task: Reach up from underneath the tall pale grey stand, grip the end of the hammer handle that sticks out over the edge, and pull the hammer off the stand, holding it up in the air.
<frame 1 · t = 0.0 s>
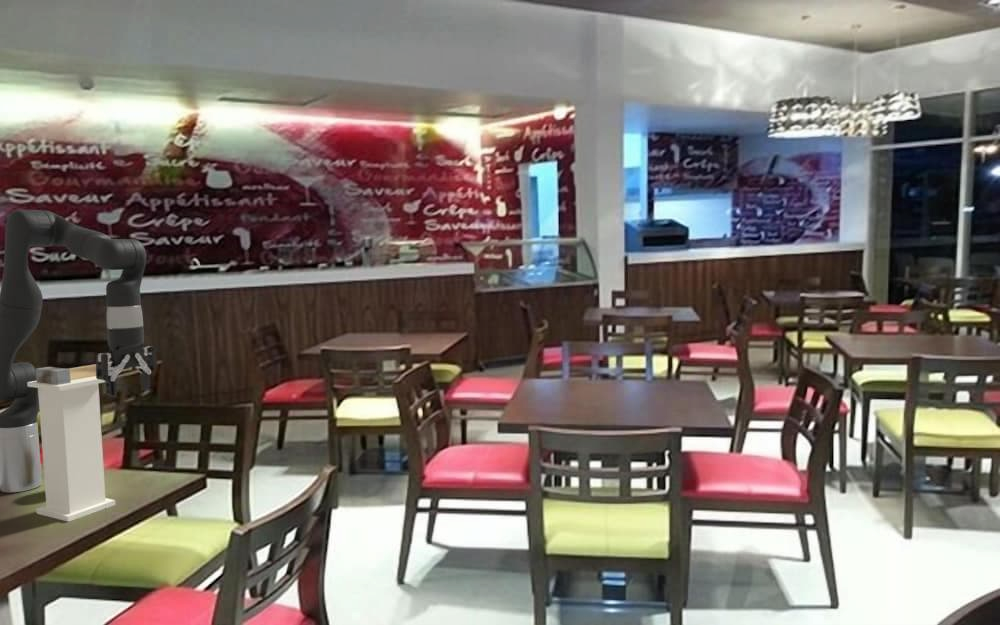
hand: (129, 393, 171), 29 cm above the table, fingers open, 8 cm apart
stand: (76, 509, 177), on the table
hammer: (89, 375, 179), point 32 cm above the table, touching stand
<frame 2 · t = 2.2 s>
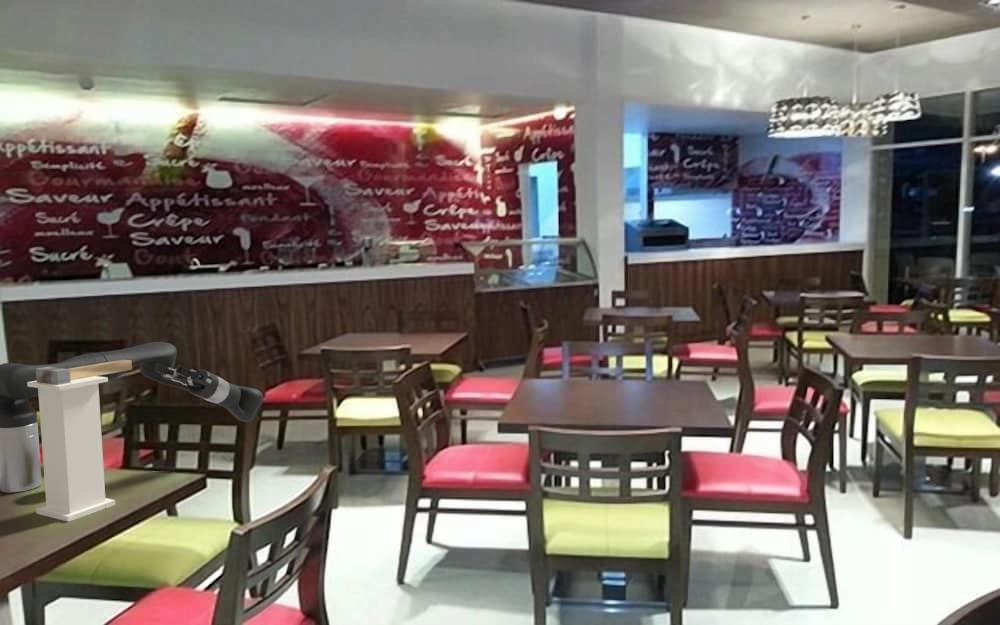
hand: (166, 367, 199), 31 cm above the table, fingers open, 8 cm apart
nothing on the table moved.
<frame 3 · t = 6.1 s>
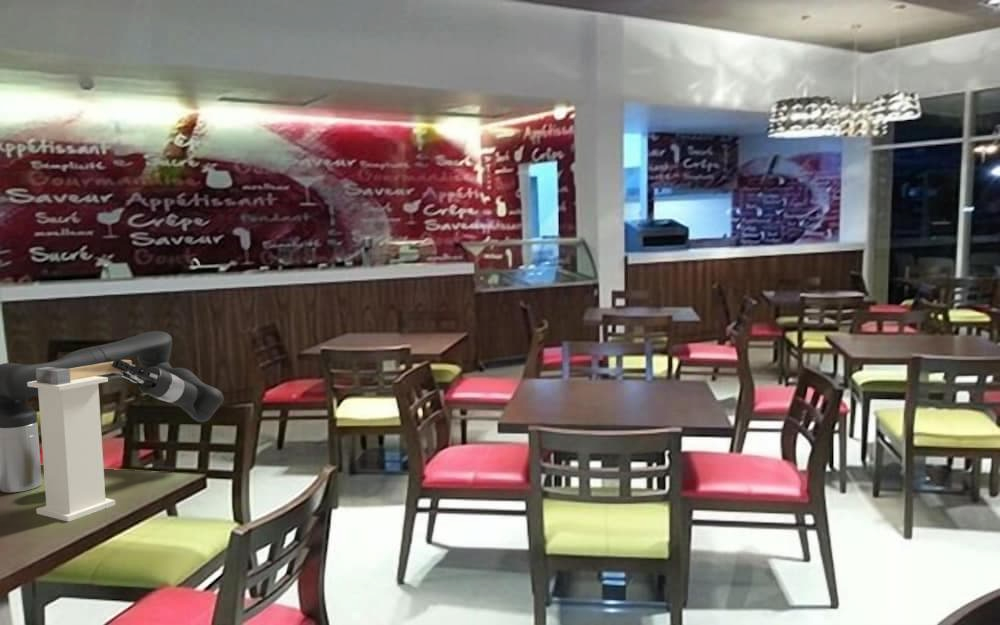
hand: (109, 362, 183), 35 cm above the table, fingers closed on hammer, 3 cm apart
hammer: (89, 375, 179), point 32 cm above the table, touching gripper, stand
everything else where it was.
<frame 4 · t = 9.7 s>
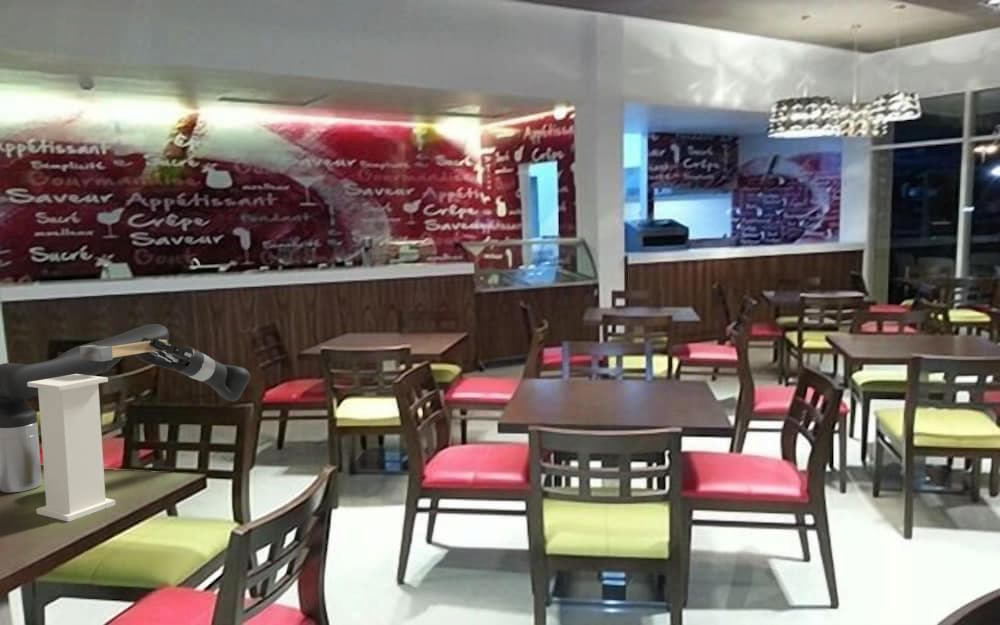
hand: (147, 341, 193), 39 cm above the table, fingers closed on hammer, 3 cm apart
hammer: (129, 354, 188), point 36 cm above the table, touching gripper
everything else where it was.
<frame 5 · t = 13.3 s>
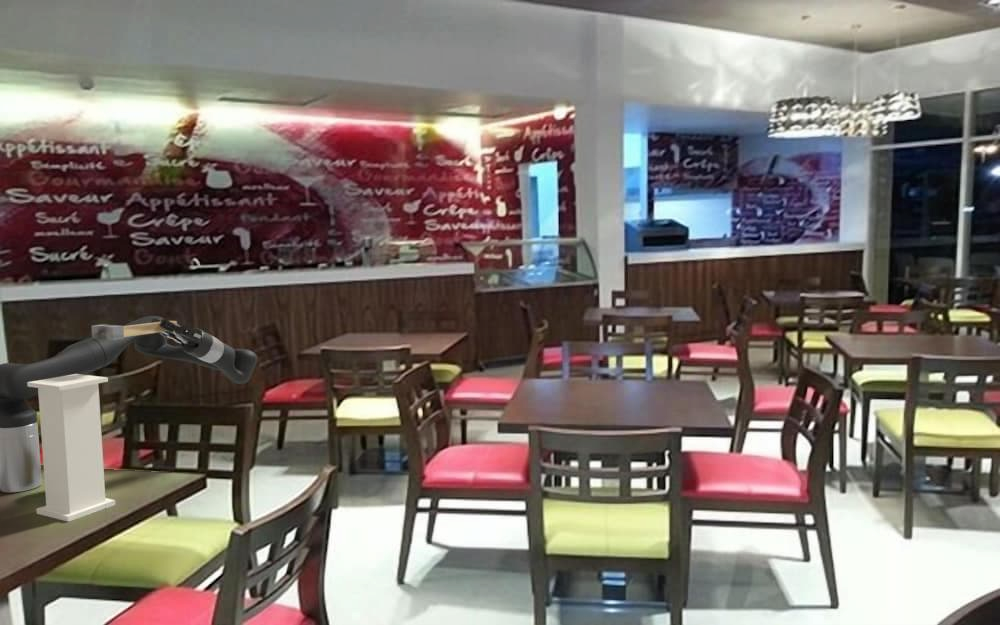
hand: (157, 322, 196), 43 cm above the table, fingers closed on hammer, 3 cm apart
hammer: (139, 334, 191), point 41 cm above the table, touching gripper
everything else where it was.
at the end: the gripper is holding hammer; hammer touching gripper; hammer point 40.7 cm above the table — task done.
